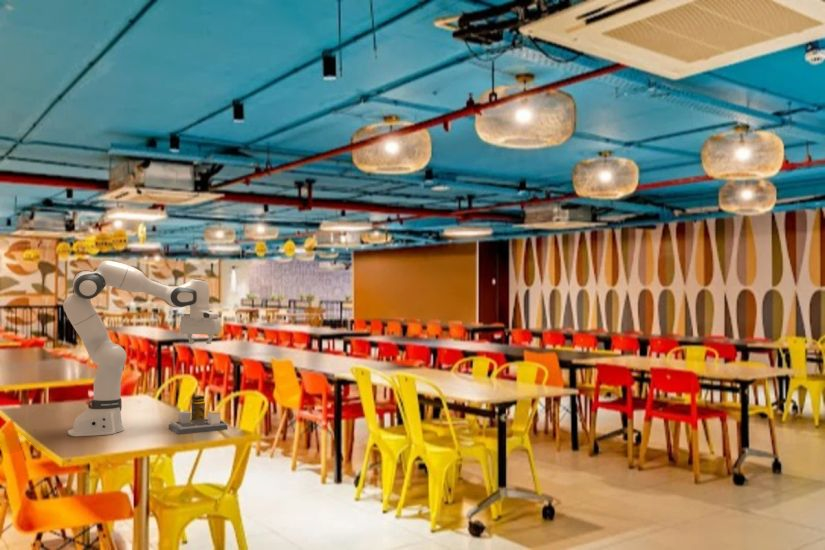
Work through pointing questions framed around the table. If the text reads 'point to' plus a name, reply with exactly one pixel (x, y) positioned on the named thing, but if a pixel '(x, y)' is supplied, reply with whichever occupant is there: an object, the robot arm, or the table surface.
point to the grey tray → (196, 426)
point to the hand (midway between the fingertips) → (200, 343)
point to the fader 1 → (184, 417)
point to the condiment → (198, 408)
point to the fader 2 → (213, 417)
